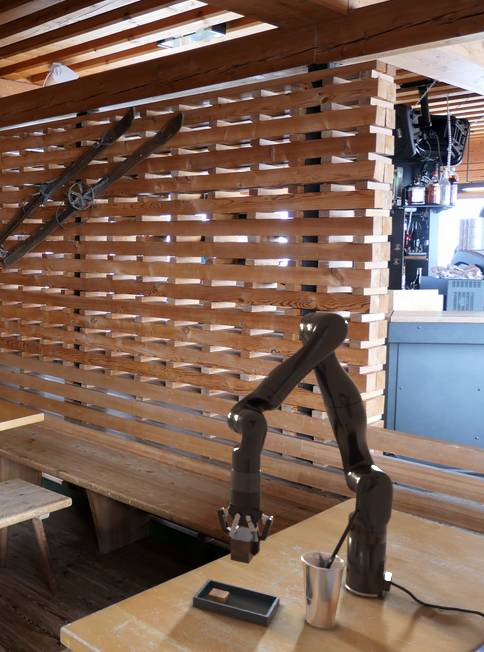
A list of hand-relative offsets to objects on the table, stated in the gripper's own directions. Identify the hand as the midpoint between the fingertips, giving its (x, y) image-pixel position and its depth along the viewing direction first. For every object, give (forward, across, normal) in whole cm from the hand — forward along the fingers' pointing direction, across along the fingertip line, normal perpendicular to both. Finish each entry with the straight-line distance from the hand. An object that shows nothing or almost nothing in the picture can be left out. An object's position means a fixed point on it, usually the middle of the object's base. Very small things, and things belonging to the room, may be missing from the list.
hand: (244, 552), depth 187 cm
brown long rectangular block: (+1, 0, 0) cm, 1 cm away
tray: (+13, +1, +4) cm, 13 cm away
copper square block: (+12, +5, +4) cm, 14 cm away
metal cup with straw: (+13, -19, +1) cm, 23 cm away
